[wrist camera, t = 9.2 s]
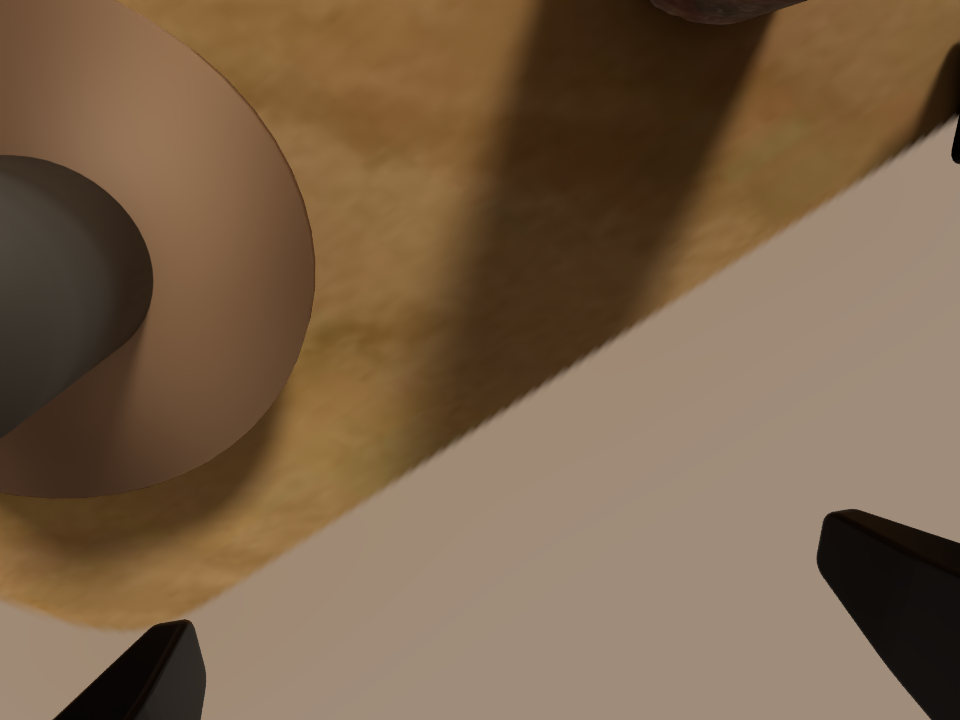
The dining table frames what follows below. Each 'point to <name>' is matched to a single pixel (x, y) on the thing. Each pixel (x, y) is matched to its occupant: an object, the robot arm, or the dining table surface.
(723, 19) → the candle
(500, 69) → the dining table surface
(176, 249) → the lid
